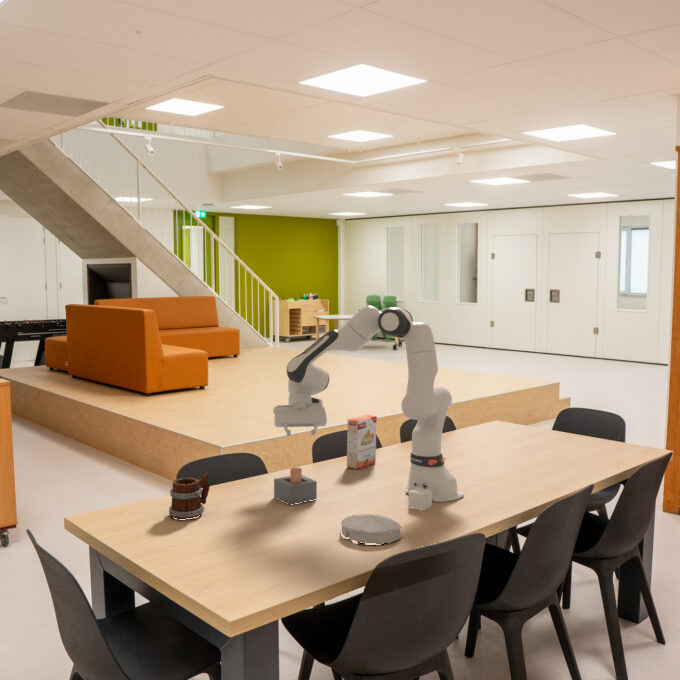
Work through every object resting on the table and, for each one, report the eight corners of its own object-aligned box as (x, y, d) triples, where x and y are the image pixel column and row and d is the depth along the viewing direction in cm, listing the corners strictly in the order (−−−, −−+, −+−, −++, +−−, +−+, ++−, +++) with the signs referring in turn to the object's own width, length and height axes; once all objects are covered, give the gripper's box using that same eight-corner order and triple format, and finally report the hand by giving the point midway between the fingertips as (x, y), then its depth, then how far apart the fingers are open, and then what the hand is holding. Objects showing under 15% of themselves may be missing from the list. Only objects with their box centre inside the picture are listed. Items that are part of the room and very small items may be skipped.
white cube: (416, 503, 254) (417, 487, 254) (431, 506, 251) (432, 490, 250) (408, 508, 249) (408, 491, 249) (423, 511, 246) (424, 494, 245)
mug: (159, 514, 240) (165, 470, 240) (194, 512, 250) (200, 469, 250) (178, 523, 232) (184, 477, 232) (214, 520, 242) (220, 476, 242)
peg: (302, 496, 258) (303, 469, 257) (293, 498, 255) (294, 471, 254) (297, 493, 261) (297, 467, 260) (287, 495, 259) (288, 468, 258)
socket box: (316, 500, 257) (316, 481, 256) (289, 505, 250) (289, 486, 250) (300, 492, 266) (300, 474, 265) (274, 497, 260) (274, 478, 259)
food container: (326, 534, 225) (325, 513, 224) (372, 519, 238) (372, 500, 237) (368, 554, 210) (368, 532, 209) (415, 537, 223) (415, 516, 222)
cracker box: (357, 470, 296) (358, 420, 294) (346, 467, 300) (346, 419, 298) (376, 463, 307) (377, 415, 305) (365, 460, 311) (365, 413, 309)
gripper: (273, 400, 275) (273, 431, 266) (325, 399, 277) (327, 429, 268) (273, 410, 280) (273, 440, 271) (325, 409, 282) (327, 438, 273)
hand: (301, 434), depth 270 cm, fingers open, 8 cm apart
